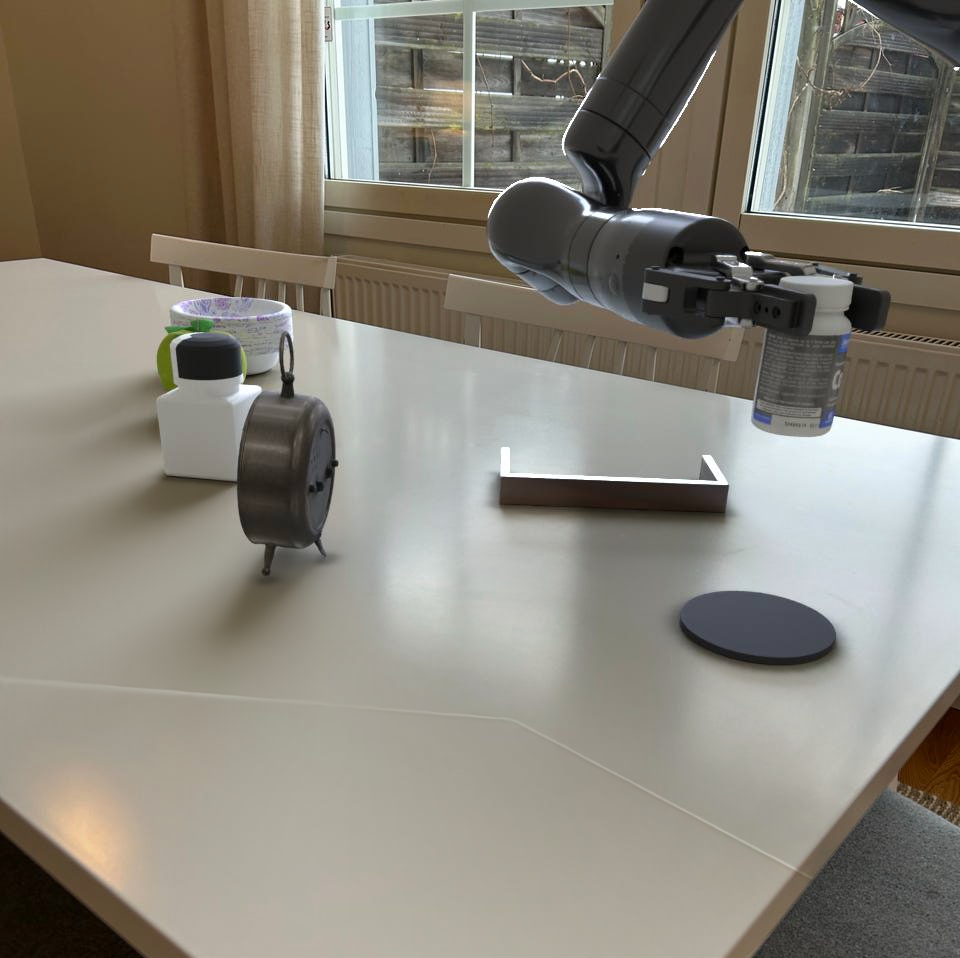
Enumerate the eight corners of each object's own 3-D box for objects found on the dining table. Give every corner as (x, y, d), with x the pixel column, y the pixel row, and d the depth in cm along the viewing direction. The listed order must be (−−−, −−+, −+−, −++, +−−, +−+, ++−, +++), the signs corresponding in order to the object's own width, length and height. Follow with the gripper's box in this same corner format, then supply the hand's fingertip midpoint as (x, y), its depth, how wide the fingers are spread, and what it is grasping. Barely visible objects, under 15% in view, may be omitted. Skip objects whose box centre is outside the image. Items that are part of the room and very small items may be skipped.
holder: (499, 473, 93) (500, 447, 92) (707, 481, 93) (710, 455, 92) (499, 503, 85) (500, 476, 84) (725, 512, 85) (729, 485, 84)
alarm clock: (282, 527, 79) (269, 316, 71) (349, 531, 78) (342, 320, 71) (238, 581, 69) (218, 344, 61) (314, 587, 69) (303, 349, 61)
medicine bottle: (267, 460, 94) (258, 330, 89) (238, 482, 88) (226, 345, 82) (197, 454, 95) (184, 326, 90) (163, 476, 89) (147, 339, 83)
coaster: (730, 584, 71) (731, 578, 71) (861, 631, 65) (863, 624, 65) (649, 626, 65) (650, 619, 65) (786, 681, 59) (788, 674, 58)
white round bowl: (237, 387, 120) (232, 320, 116) (150, 370, 127) (142, 305, 123) (318, 367, 131) (316, 305, 128) (235, 352, 138) (230, 292, 135)
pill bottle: (840, 440, 57) (872, 288, 53) (758, 437, 57) (784, 284, 53) (818, 418, 61) (847, 275, 57) (742, 415, 61) (765, 272, 57)
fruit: (146, 418, 106) (134, 322, 101) (191, 399, 114) (181, 309, 109) (223, 427, 104) (214, 329, 99) (263, 406, 112) (257, 315, 107)
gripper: (580, 211, 62) (755, 241, 49) (758, 211, 68) (959, 239, 55) (570, 332, 66) (731, 392, 52) (740, 323, 72) (925, 375, 58)
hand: (846, 314), depth 54 cm, fingers closed on pill bottle, 4 cm apart
